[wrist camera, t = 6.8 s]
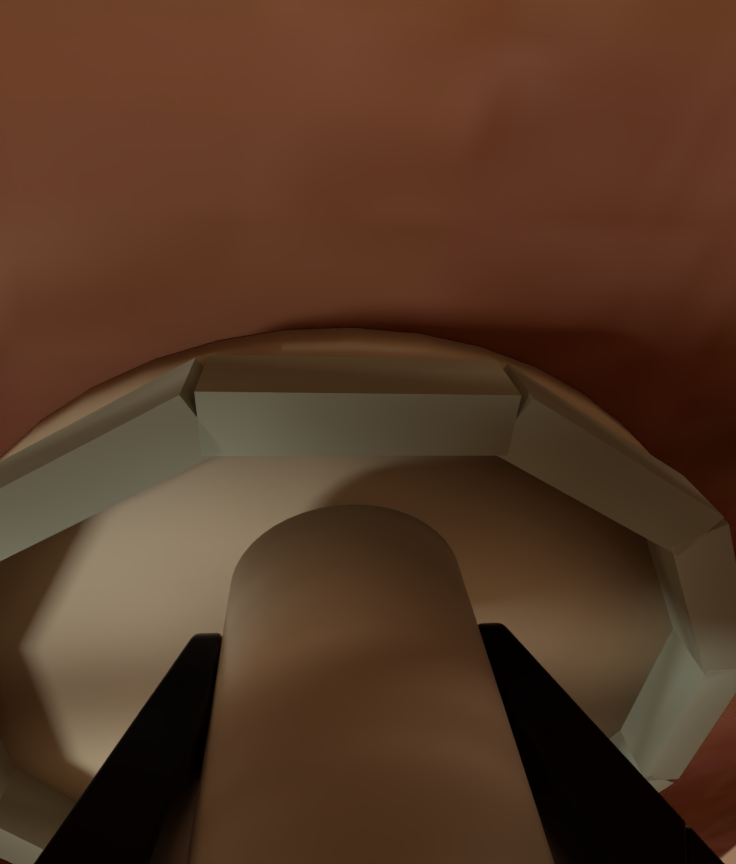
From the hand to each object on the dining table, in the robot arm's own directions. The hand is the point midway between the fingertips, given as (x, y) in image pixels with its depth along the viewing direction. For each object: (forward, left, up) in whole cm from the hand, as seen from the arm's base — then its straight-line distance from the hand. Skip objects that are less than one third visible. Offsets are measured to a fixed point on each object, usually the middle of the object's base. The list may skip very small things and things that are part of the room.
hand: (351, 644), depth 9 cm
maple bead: (0, 0, -1) cm, 1 cm away
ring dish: (-4, 0, -3) cm, 5 cm away
